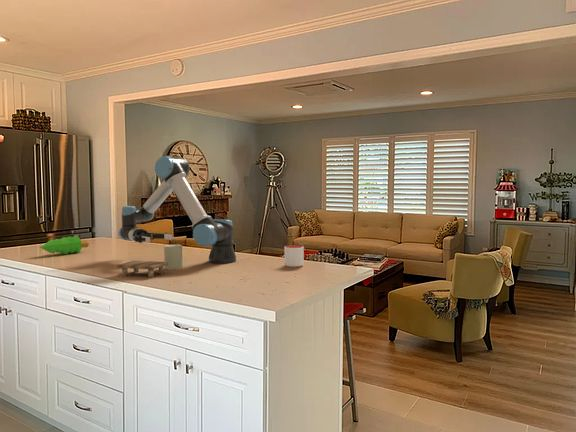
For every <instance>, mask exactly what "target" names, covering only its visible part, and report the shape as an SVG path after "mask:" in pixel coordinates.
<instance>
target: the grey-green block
mask: <svg viewBox="0 0 576 432" xmlns="http://www.w3.org/2000/svg"><path fill="white" fill-rule="evenodd" d="M163 251H164V254H163V255H164V256H163V257H164V262H168V265H165V266H164V270H167V269H168V271H175V270H174V269H177V270H181V268H182V269H183V268H184V267H183V265H184V264H183V245H182V244H166V245H164V246H163Z"/></svg>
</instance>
